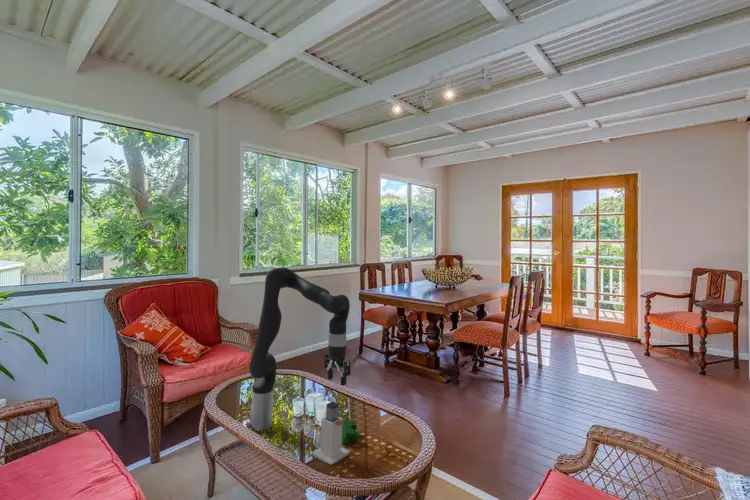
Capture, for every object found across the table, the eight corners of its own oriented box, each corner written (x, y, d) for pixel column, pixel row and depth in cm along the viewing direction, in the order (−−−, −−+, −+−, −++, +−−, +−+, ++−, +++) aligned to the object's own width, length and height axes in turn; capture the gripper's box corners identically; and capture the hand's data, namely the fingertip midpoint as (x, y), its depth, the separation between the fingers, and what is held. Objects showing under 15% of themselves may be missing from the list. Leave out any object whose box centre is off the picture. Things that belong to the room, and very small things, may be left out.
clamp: (353, 452, 161) (359, 438, 157) (339, 450, 160) (346, 436, 156) (352, 428, 172) (358, 415, 168) (340, 426, 170) (346, 412, 167)
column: (324, 451, 151) (326, 404, 150) (330, 447, 154) (332, 401, 153) (330, 455, 149) (332, 407, 148) (337, 451, 152) (339, 404, 151)
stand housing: (311, 454, 150) (313, 418, 150) (330, 443, 159) (332, 409, 158) (330, 466, 144) (332, 428, 143) (349, 453, 152) (351, 418, 152)
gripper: (319, 341, 155) (319, 379, 155) (341, 349, 145) (340, 389, 145) (333, 338, 160) (332, 375, 160) (355, 345, 150) (354, 384, 150)
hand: (336, 382), depth 153 cm, fingers open, 8 cm apart
